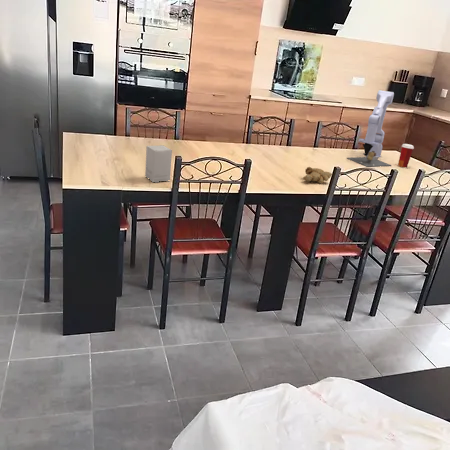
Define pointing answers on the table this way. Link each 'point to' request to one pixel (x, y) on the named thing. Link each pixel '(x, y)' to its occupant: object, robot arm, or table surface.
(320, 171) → the ginger root
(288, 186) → the table surface
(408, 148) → the paper cup
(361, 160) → the plate
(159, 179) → the supplement box
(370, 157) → the lever
